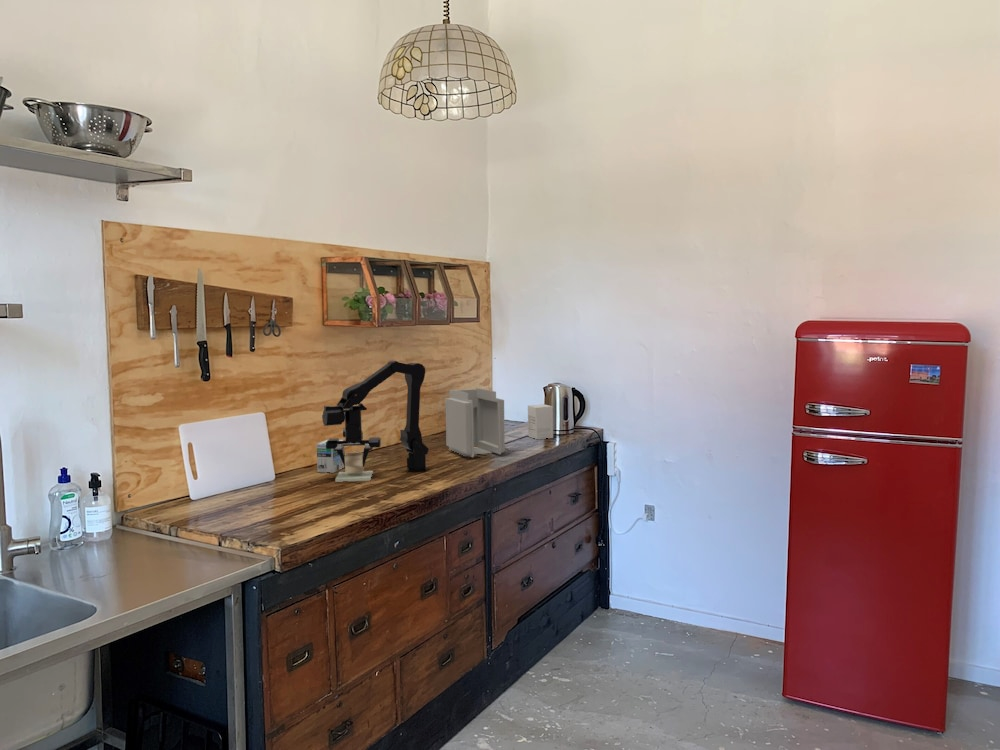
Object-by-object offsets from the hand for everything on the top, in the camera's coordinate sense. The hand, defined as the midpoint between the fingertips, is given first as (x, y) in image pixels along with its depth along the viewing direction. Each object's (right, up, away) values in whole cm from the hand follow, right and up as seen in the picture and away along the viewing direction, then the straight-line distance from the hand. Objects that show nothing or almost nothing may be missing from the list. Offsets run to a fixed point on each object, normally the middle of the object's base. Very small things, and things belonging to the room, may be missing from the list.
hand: (354, 467), depth 261 cm
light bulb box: (-11, -3, +14) cm, 19 cm away
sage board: (0, -4, 0) cm, 4 cm away
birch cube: (0, -2, 0) cm, 2 cm away
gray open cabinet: (+41, 0, +43) cm, 60 cm away
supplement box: (+70, +3, +80) cm, 107 cm away
